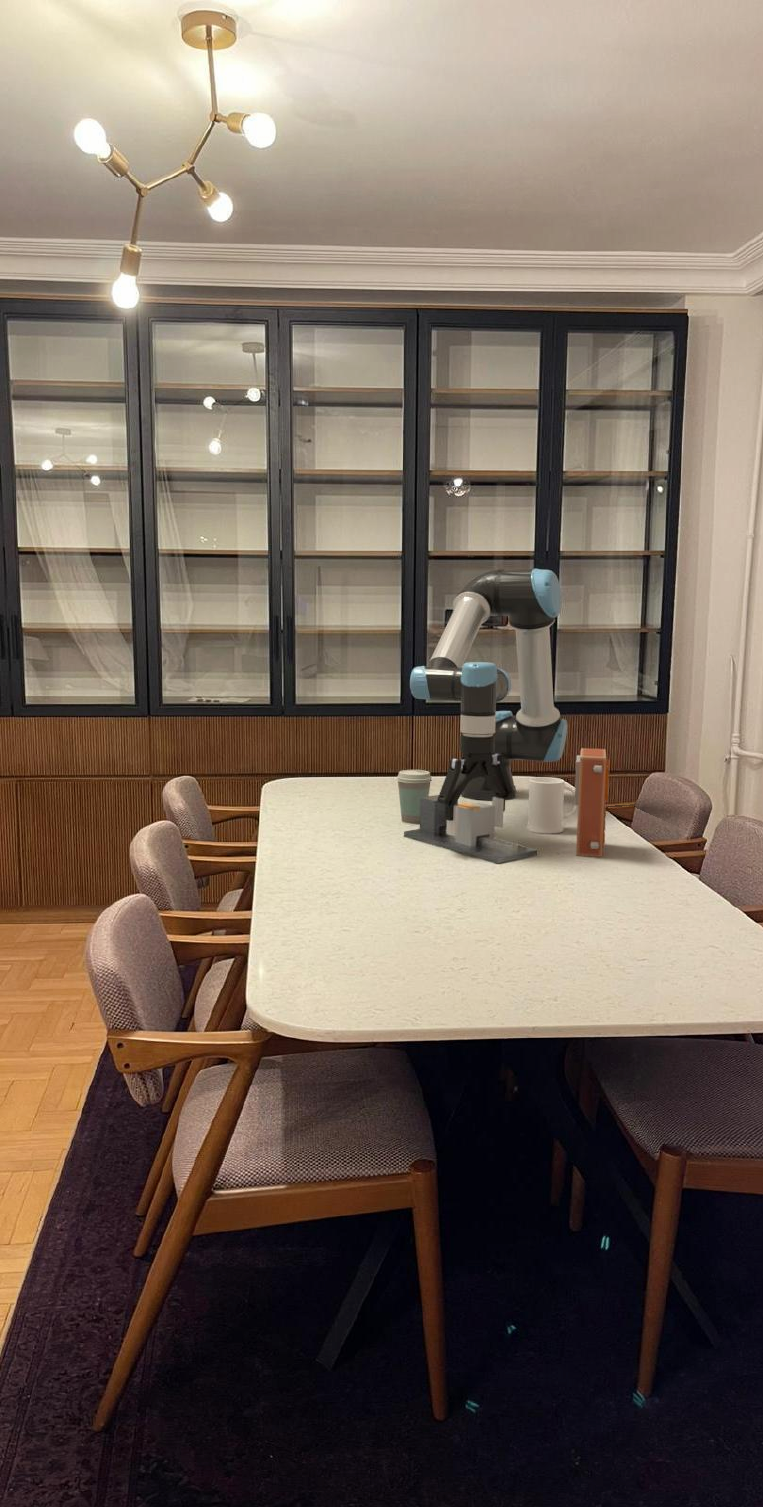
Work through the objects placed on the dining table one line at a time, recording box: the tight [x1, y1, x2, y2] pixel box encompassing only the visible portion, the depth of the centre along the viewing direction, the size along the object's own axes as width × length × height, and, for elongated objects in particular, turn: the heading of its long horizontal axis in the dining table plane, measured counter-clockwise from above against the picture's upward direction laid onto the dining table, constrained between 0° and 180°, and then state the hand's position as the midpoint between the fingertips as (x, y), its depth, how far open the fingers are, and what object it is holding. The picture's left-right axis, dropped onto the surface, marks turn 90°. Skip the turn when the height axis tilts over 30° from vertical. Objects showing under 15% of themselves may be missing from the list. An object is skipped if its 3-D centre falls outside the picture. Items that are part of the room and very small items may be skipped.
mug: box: [526, 776, 578, 835], centre depth 245 cm, size 12×8×12 cm
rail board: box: [403, 794, 538, 865], centre depth 228 cm, size 30×12×9 cm, turn 38°
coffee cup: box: [396, 769, 433, 824], centre depth 253 cm, size 8×9×12 cm
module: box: [455, 802, 496, 846], centre depth 227 cm, size 5×7×8 cm
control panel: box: [573, 747, 610, 858], centre depth 225 cm, size 21×7×15 cm
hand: (475, 830), depth 227 cm, fingers open, 13 cm apart
